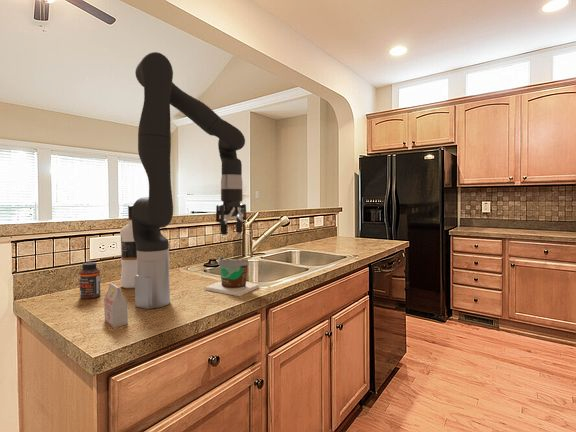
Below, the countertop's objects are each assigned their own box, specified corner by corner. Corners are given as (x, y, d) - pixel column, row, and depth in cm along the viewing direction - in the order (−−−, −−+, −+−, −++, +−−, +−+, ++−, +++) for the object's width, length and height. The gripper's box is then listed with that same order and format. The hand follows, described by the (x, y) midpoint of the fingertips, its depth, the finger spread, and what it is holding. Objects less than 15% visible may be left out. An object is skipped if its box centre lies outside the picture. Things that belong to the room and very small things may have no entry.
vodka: (147, 287, 124) (144, 205, 122) (119, 290, 121) (116, 205, 119) (148, 281, 133) (146, 204, 131) (122, 283, 130) (119, 205, 127)
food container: (210, 286, 121) (210, 258, 121) (221, 282, 127) (221, 255, 126) (238, 291, 115) (238, 262, 115) (249, 286, 121) (248, 258, 120)
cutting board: (239, 296, 114) (239, 292, 113) (205, 290, 121) (205, 286, 121) (259, 287, 124) (259, 284, 124) (226, 282, 131) (226, 279, 131)
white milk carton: (119, 317, 95) (118, 281, 94) (127, 323, 90) (126, 286, 89) (104, 320, 92) (103, 284, 92) (112, 327, 87) (111, 289, 87)
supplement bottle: (77, 300, 110) (75, 265, 109) (83, 294, 115) (81, 261, 114) (97, 298, 111) (96, 264, 110) (102, 293, 117) (101, 260, 116)
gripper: (227, 187, 112) (227, 236, 113) (252, 188, 124) (252, 232, 125) (209, 187, 115) (210, 234, 116) (235, 188, 128) (235, 231, 129)
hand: (231, 233), depth 121 cm, fingers open, 8 cm apart
